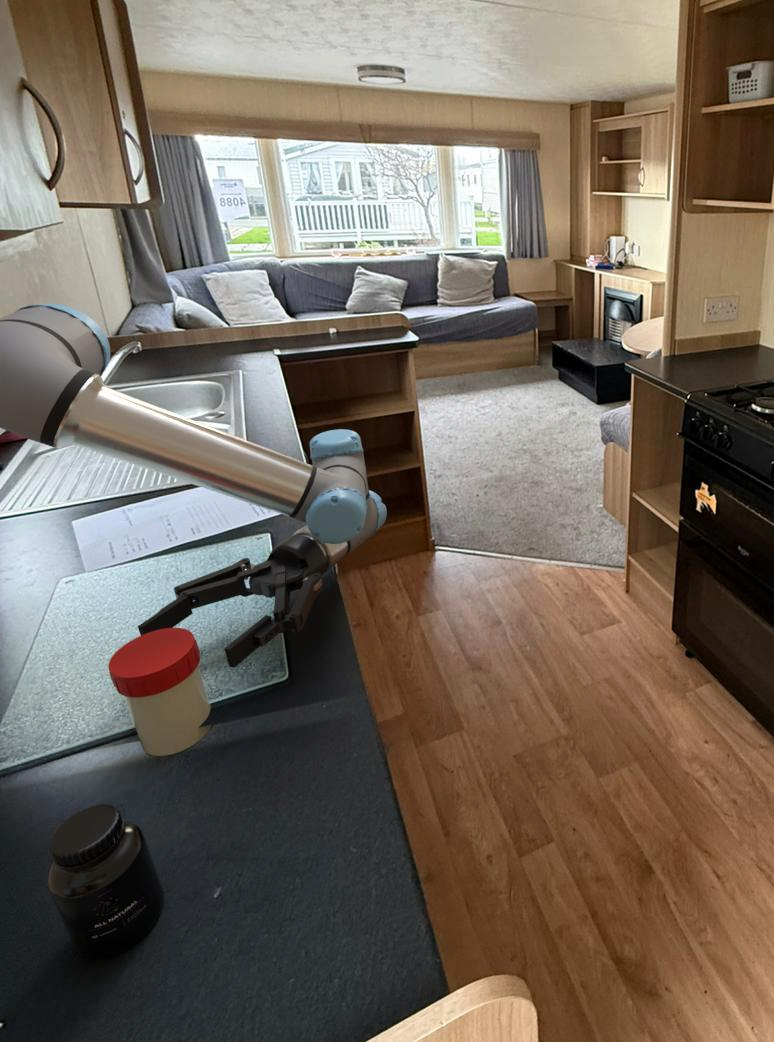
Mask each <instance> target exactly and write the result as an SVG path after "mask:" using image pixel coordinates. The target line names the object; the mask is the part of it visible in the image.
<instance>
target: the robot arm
mask: <svg viewBox="0 0 774 1042" xmlns="http://www.w3.org/2000/svg"><path fill="white" fill-rule="evenodd" d="M110 360H111V347H110V342H109V339H108V337H107V335H106V332H104V330H103V329H102V327H101V326H100V325H99V324H98V323H97V322H96V321H95V320H93V319H92V317H90V316H88V315H87V314H86V313H84V312H82V311H80V310H78V309H76V308H73V307H71V306H67V305H64V304H59V303H57V304H56V303H39V304H38V303H37V304H31V305H25V306H22V307H20V308H18V309H17V310H15V311H14V312H11V313H10V314H7V315H4V316H3V317H0V436H1V435H2V434H3V433H5V432H6V431H7V432H9V433H12V434H14V435H17V436H20V437H21V438H24V439H28V440H30V441H33V442H36V443H38V444H39V443H40V444H42V445H45V446H48V447H51V448H55V449H58V450H59V449H63V448H66V447H70V446H77V447H80V448H84V449H86V450H89V451H92V452H95V453H98V454H101V455H104V456H107V457H110V458H113V459H116V460H118V461H122V462H125V463H128V464H130V465H131V464H132V465H134V466H137V467H140V468H143V469H145V470H149V471H152V472H155V473H158V474H161V475H164V476H167V477H170V478H173V479H176V480H179V481H182V482H185V483H188V484H191V485H193V486H197V487H199V488H203V489H205V490H209V491H212V492H215V493H218V494H221V495H223V496H227V497H229V498H233V499H236V500H239V501H242V502H243V503H244V502H245V503H247V504H250V505H255V506H257V507H260V508H262V509H266V510H269V511H272V512H274V513H276V514H277V513H278V514H280V515H284V516H287V517H289V518H291V519H293V520H297V521H300V522H303V523H306V524H305V525H304V526H303V527H301V528H299V529H298V530H297V531H295V532H294V533H293V534H292V535H290V536H288V537H287V538H286V539H284V540H283V541H281V542H280V543H278V544H276V545H275V546H274V547H273V548H272V549H271V551H270V552H269V555H268V558H267V559H266V560H265V561H263V562H259V563H258V564H253V563H251V560H250V558H249V557H244V558H242V559H240V560H238V561H236V562H235V563H233V564H231V565H229V566H225V567H224V568H221V569H217V570H216V571H213V572H211V573H208V574H205V575H202V576H200V577H197V578H194V579H192V580H189V581H187V582H184V583H181V584H179V585H176V586H175V587H173V591H174V595H175V598H176V599H174V600H173V601H171V602H169V604H167V605H165V606H164V607H162V608H160V610H159V611H158V612H157V613H155V614H154V615H152V616H150V618H148V619H146V620H145V621H143V622H141V623H140V624H138V625H137V628H138V632H139V636H142V635H144V634H146V633H149V632H152V631H156V630H160V629H165V628H175V627H176V626H177V625H178V624H179V625H180V623H182V622H183V621H185V620H186V619H187V618H189V617H190V616H192V615H193V614H194V613H193V610H195V609H198V608H201V607H204V606H205V607H206V606H208V605H211V604H214V603H215V604H216V603H218V602H222V601H224V600H229V599H232V598H236V597H239V596H241V597H244V598H247V597H250V596H253V595H255V596H263V597H265V598H268V599H272V598H274V605H273V610H272V615H273V619H272V615H268V614H265V615H264V616H263V617H262V618H260V619H259V620H258V621H257V622H256V623H254V624H253V625H252V626H251V627H249V628H248V629H247V630H245V631H244V632H243V633H242V634H240V635H239V636H238V637H237V638H235V639H234V640H233V641H231V643H229V644H228V645H227V646H226V647H224V648H223V650H224V654H225V658H226V661H227V663H228V667H229V668H233V669H235V668H237V667H238V666H239V665H240V664H241V663H242V662H243V661H244V660H246V659H247V658H248V657H250V655H252V654H253V653H255V651H256V650H258V649H259V648H262V647H264V646H266V645H268V644H269V642H271V641H272V640H273V639H274V638H275V637H277V636H278V635H279V634H283V633H285V632H287V631H292V633H293V634H294V633H295V634H297V633H300V632H301V631H302V630H303V629H304V626H305V624H306V621H307V620H308V617H309V614H310V613H311V609H312V607H313V605H314V602H315V600H316V597H317V596H318V595H319V594H320V593H321V592H322V591H324V584H323V580H322V576H324V574H325V573H326V572H328V571H329V570H331V569H332V568H333V567H334V566H335V565H336V564H338V563H339V562H340V561H341V560H342V559H344V558H345V557H346V556H348V555H349V554H351V553H352V552H353V551H354V550H355V549H357V548H358V547H359V546H361V545H362V544H363V543H364V542H366V541H367V540H369V539H371V538H372V537H373V536H374V535H375V533H376V532H378V531H379V529H380V528H382V526H383V525H384V524H385V522H386V519H387V516H388V512H387V511H388V509H387V507H386V504H384V503H383V501H382V498H381V496H380V495H378V494H377V493H376V492H375V491H372V490H370V489H369V485H368V483H369V482H368V477H367V476H368V475H367V467H366V461H365V456H364V455H365V453H364V448H363V445H362V439H361V436H360V435H359V434H358V433H357V432H356V431H354V430H350V429H343V428H340V429H339V428H338V429H331V430H327V431H322V432H321V433H319V434H316V435H315V436H313V437H312V438H311V439H310V441H309V451H310V456H309V458H310V460H311V464H309V463H307V462H304V461H301V460H299V459H296V458H293V457H291V456H288V455H286V454H283V453H281V452H278V451H275V450H272V449H271V448H267V447H266V446H263V445H259V444H257V443H254V442H252V441H249V440H246V439H244V438H241V437H238V436H236V435H233V434H231V433H228V432H225V431H223V430H221V429H218V428H215V427H212V426H210V425H207V424H204V423H202V422H199V421H197V420H194V419H192V418H189V417H186V416H184V415H181V414H178V413H176V412H173V411H170V410H169V409H165V408H163V407H160V406H158V405H155V404H152V403H149V402H147V401H144V400H142V399H139V398H136V397H134V396H132V395H129V394H126V393H123V392H120V391H119V390H116V389H113V388H110V387H108V386H107V385H106V383H105V382H104V380H103V378H102V376H103V374H104V373H105V371H106V369H107V368H108V366H109V363H110ZM247 580H248V584H249V585H248V586H249V587H247V585H246V581H247ZM297 590H299V591H298V594H297V596H296V599H295V601H294V602H293V605H292V607H291V609H290V612H289V604H290V603H291V602H290V601H291V593H292V592H295V591H297Z"/></svg>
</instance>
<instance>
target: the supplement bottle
mask: <svg viewBox="0 0 774 1042" xmlns="http://www.w3.org/2000/svg"><path fill="white" fill-rule="evenodd" d="M49 851H50V853H51V855H52V860H53V862H52V864H51V866H50V869H49V871H48V875H47V880H46V881H47V889H48V892H49V894H50V897H51V899H52V901H53V903H54V905H55V907H56V910H57V912H58V915H59V917H60V919H61V921H62V924H63V925H64V927H65V930H66V932H67V934H68V937H69V938H70V941H71V944H72V945H73V947H74V949H75V950H76V952H77V953H78V954H79V956H82V957H83V958H86V959H89V960H101V959H102V960H103V959H106V958H110V957H113V956H116V955H118V954H120V953H122V952H125V951H126V950H127V949H129V948H130V947H132V946H133V945H135V944H136V943H137V942H139V941H140V940H141V939H142V938H143V937H145V935H146V934H147V933H148V932H149V931H150V930H151V929H152V927H153V926H154V924H155V923H156V922H157V920H158V918H159V916H160V914H161V912H162V910H163V908H164V902H165V893H164V889H163V885H162V883H161V879H160V877H159V874H158V871H157V867H156V865H155V863H154V860H153V857H152V853H151V851H150V848H149V845H148V843H147V840H146V837H145V834H144V833H143V831H142V829H141V828H140V827H139V825H137V824H135V823H133V822H130V821H126V820H124V818H123V817H122V815H121V813H120V810H119V809H118V808H117V807H116V806H114V805H113V804H109V803H101V804H100V803H99V804H95V805H90V806H88V807H85V808H83V809H81V810H79V811H77V812H76V813H74V814H72V815H71V816H69V817H68V818H67V819H65V820H64V821H63V823H60V825H59V826H58V827H57V828H56V830H55V831H54V833H52V836H51V839H50V842H49Z"/></svg>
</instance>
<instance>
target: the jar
mask: <svg viewBox="0 0 774 1042" xmlns="http://www.w3.org/2000/svg"><path fill="white" fill-rule="evenodd" d="M123 699H124V702H125V704H126V707H127V710H128V712H129V715H130V718H131V721H132V723H133V727H134V728H135V731H136V735H137V737H138V739H139V742H140V745H141V748H142V750H143V751H144V752H145V753H146V754H148V755H150V756H153V757H165V756H171V755H174V754H177V753H180V752H183V751H185V750H188V749H189V748H190V747H192V746H194V745H196V744H197V743H198V742H200V741H201V740H202V739H203V738H205V736H206V735H207V734H208V733H209V732H210V730H211V729H212V727H213V724H209V725H204V726H202V725H203V723H205V721H206V720H207V719H208V717H209V715H210V713H211V709H212V705H211V701H210V698H209V695H208V692H207V688H206V685H205V682H204V679H203V675H202V671H201V668H200V664H198V666H197V668H196V669H195V671H194V672H193V673H192V674H191V675H190V676H189V677H188V678H186V679H185V680H184V681H182V682H181V683H179V684H178V685H176V686H174V687H172V688H170V689H168V690H166V691H164V692H161V693H158V694H155V695H151V696H147V697H139V698H132V697H126V696H123Z"/></svg>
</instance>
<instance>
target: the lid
mask: <svg viewBox="0 0 774 1042" xmlns="http://www.w3.org/2000/svg"><path fill="white" fill-rule="evenodd" d="M200 661H201V652H200V648H199V645H198V643H197V640H196V639H195V635H194V634H193V632H191V631H190V630H189V629H186V628H182V627H173V628H165V629H160V630H156V631H152V632H149V633H146V634H144V635H142V636H141V635H139V636H137V637H135V638H133V639H132V640H130V641H128V642H127V643H125V644H124V645H123V646H121V647H120V648H119V649H118V650H116V651H115V652H114V654H113V655H112V656H111V658H110V660H109V661H108V673H109V676H110V679H111V681H112V685H113V686H114V688H115V690H116V691H117V693H118V694H119V695H120V696H123V697H124V696H126V697H132V698H139V697H147V696H151V695H155V694H158V693H161V692H164V691H166V690H168V689H170V688H172V687H174V686H176V685H178V684H179V683H181V682H182V681H184V680H185V679H186V678H188V677H189V676H190V675H191V674H192V673H193V672H194V671H195V669H196V668H197V666H198V665H200Z"/></svg>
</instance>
